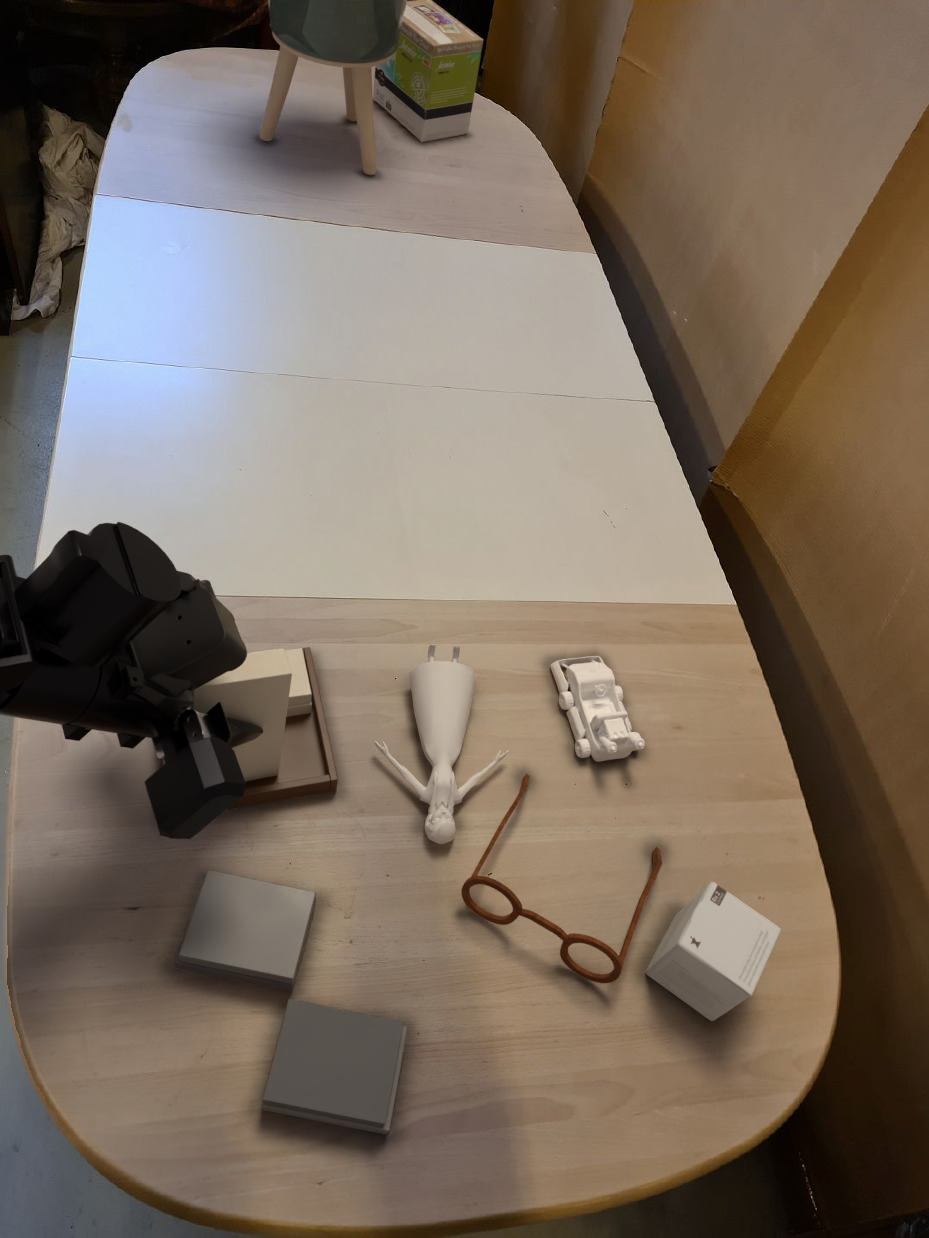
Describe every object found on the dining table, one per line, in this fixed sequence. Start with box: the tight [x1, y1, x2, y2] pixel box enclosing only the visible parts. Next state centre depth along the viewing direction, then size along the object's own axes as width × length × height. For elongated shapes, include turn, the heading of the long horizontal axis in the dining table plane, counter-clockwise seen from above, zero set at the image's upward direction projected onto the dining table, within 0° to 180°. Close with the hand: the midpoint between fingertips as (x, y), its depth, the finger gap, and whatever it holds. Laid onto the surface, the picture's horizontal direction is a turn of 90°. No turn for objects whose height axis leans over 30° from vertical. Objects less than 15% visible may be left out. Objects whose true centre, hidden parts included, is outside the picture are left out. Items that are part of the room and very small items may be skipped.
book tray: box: [161, 646, 339, 811], centre depth 74 cm, size 13×13×2 cm
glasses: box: [460, 773, 663, 984], centre depth 70 cm, size 13×13×5 cm
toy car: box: [550, 655, 646, 763], centre depth 80 cm, size 6×12×4 cm, turn 14°
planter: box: [259, 0, 408, 176], centre depth 124 cm, size 22×22×33 cm
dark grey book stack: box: [261, 998, 409, 1135], centre depth 59 cm, size 8×6×3 cm
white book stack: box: [284, 647, 312, 717], centre depth 75 cm, size 8×5×3 cm, turn 106°
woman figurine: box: [373, 643, 509, 845], centre depth 75 cm, size 12×4×18 cm
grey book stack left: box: [173, 869, 317, 993], centre depth 64 cm, size 8×6×3 cm
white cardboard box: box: [645, 881, 782, 1022], centre depth 66 cm, size 6×6×7 cm
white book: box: [186, 647, 292, 781], centre depth 67 cm, size 7×2×13 cm, turn 110°
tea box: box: [372, 0, 484, 143], centre depth 142 cm, size 15×10×15 cm
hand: (252, 715), depth 67 cm, fingers closed on white book, 3 cm apart
